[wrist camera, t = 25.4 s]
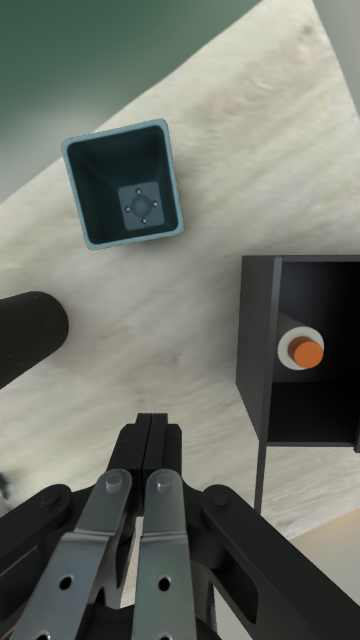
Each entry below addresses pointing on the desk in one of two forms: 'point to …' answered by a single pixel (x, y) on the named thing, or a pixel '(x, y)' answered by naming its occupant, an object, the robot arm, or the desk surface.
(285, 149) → the desk surface
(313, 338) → the orange-capped white cylinder
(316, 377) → the carton
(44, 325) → the container
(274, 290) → the flap
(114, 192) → the flower pot
